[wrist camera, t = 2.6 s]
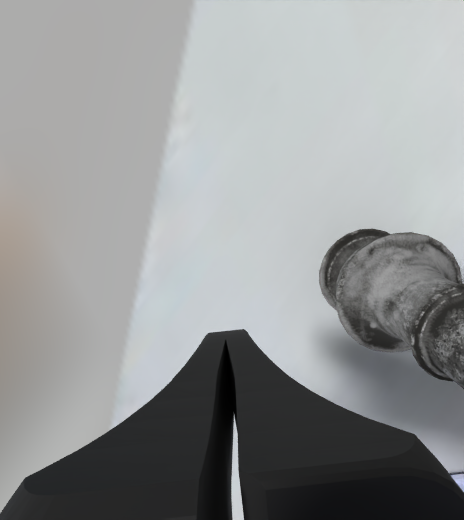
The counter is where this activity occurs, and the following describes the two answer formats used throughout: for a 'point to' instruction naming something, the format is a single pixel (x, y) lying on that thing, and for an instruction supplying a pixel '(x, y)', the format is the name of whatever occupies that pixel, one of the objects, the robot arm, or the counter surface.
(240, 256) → the counter surface
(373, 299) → the grey tapered rounded piece
